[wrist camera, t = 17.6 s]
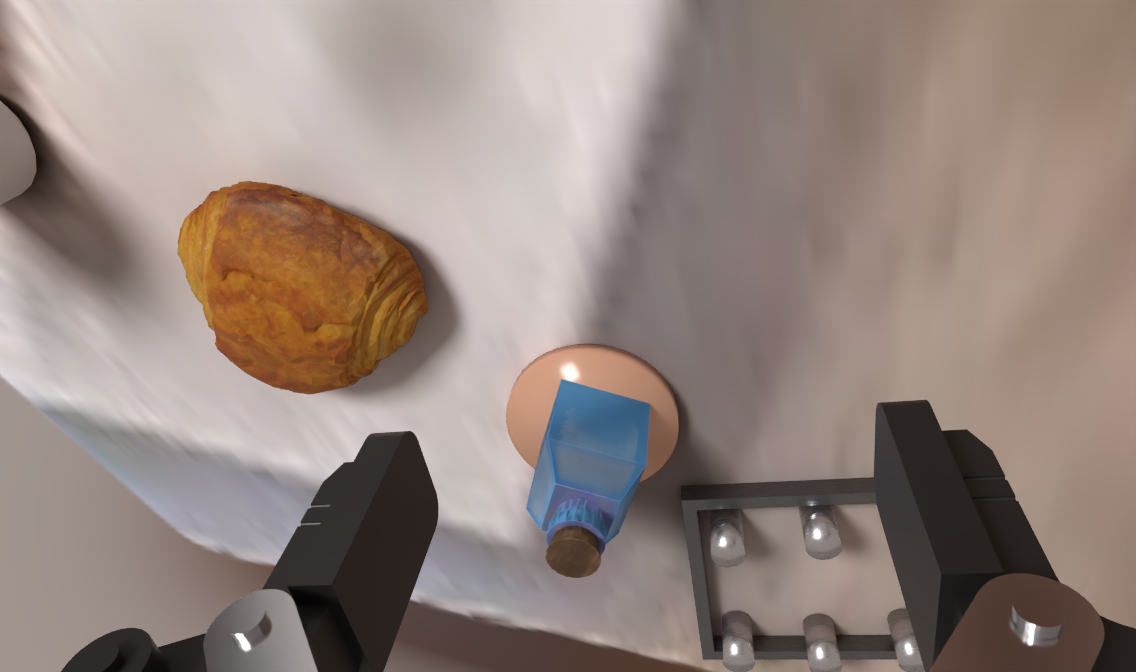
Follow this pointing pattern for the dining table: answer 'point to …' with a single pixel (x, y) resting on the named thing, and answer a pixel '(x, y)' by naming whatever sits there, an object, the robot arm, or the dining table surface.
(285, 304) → the croissant
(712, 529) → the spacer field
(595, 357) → the peach round disc
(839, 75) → the dining table surface
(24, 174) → the can
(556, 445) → the perfume bottle
